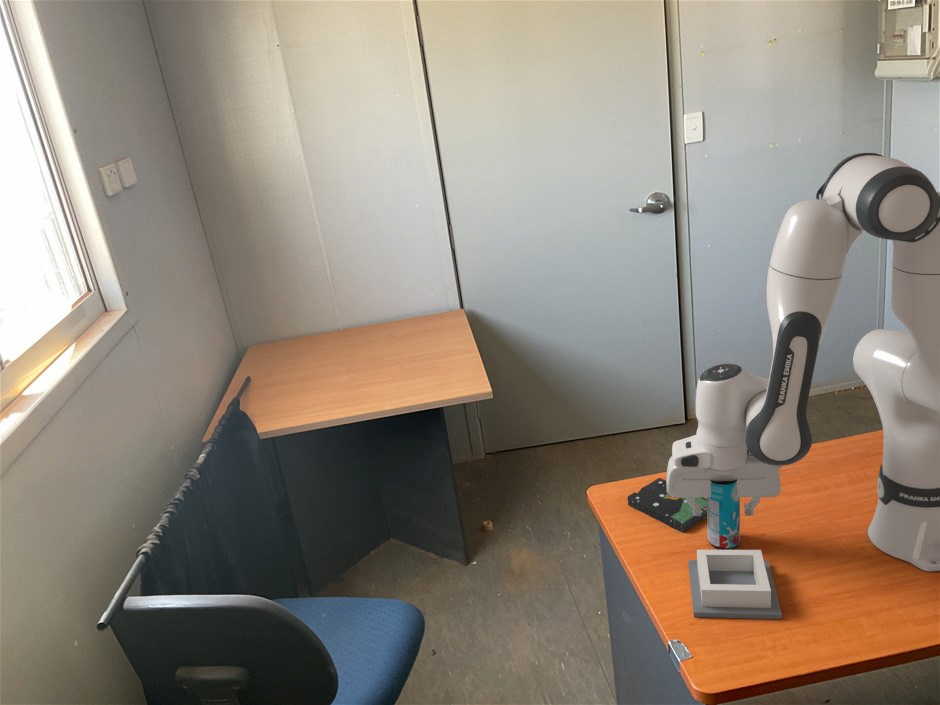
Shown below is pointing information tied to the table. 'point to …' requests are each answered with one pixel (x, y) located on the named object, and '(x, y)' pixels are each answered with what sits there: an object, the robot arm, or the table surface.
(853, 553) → the table surface
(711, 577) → the can holder
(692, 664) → the table surface
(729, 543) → the beverage can
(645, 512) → the disk drive
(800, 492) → the table surface
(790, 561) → the table surface
